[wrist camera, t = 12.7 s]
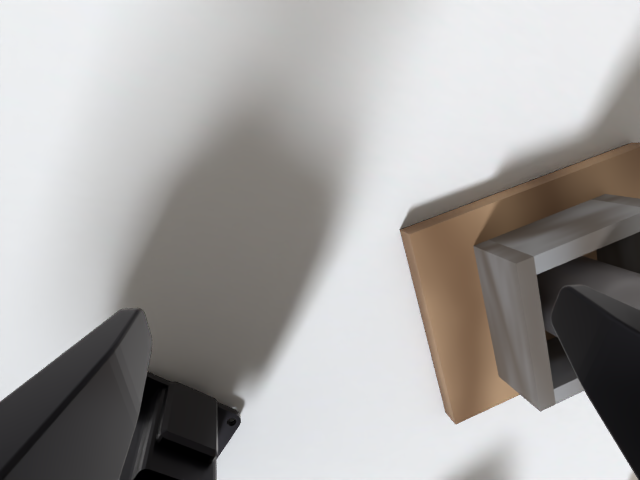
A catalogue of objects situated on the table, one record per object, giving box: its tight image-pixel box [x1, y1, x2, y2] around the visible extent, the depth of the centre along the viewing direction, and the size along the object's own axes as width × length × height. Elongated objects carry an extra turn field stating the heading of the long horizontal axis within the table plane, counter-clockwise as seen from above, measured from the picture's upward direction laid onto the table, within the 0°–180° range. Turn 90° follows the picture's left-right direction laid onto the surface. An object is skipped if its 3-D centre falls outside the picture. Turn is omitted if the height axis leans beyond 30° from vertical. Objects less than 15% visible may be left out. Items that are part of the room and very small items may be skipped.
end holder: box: [400, 143, 640, 424], centre depth 24 cm, size 16×13×5 cm
